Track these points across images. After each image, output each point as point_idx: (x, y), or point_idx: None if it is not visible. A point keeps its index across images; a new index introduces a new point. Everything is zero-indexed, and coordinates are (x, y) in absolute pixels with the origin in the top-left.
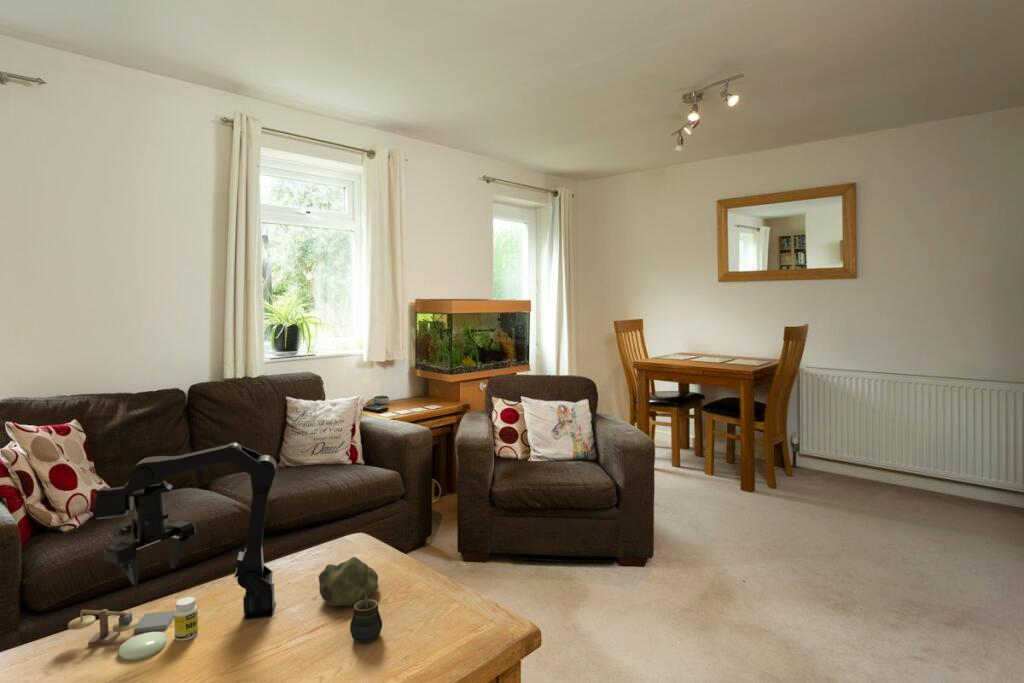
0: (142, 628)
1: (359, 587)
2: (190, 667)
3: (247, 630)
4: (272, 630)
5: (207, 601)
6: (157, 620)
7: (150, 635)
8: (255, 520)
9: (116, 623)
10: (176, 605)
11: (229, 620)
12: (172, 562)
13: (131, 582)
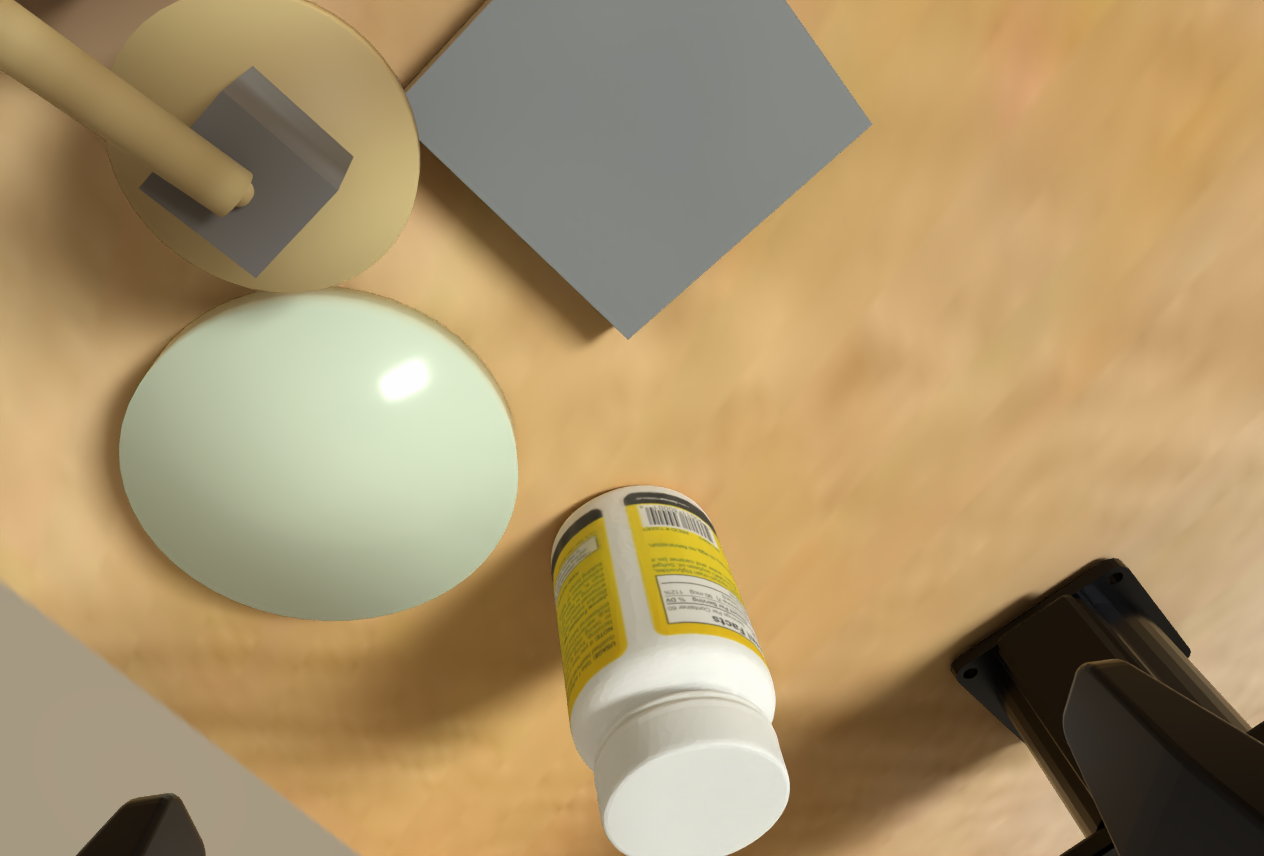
0: (459, 176)
1: None
2: (431, 840)
3: (848, 760)
4: (894, 838)
5: (1148, 155)
6: (632, 168)
7: (428, 416)
8: None
9: (176, 26)
10: (602, 793)
11: (911, 595)
12: (1148, 822)
13: (88, 848)
